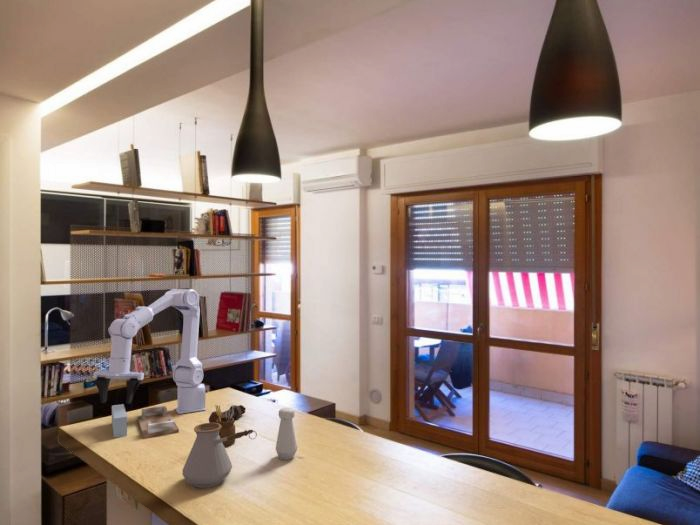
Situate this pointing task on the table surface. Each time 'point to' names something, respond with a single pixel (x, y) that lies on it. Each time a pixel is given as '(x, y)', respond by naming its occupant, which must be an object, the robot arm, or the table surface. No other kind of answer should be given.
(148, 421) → the frame
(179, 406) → the robot arm
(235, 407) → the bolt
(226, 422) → the utensil holder
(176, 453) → the table surface
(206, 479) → the coffee pot
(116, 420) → the slat
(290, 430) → the salt shaker
